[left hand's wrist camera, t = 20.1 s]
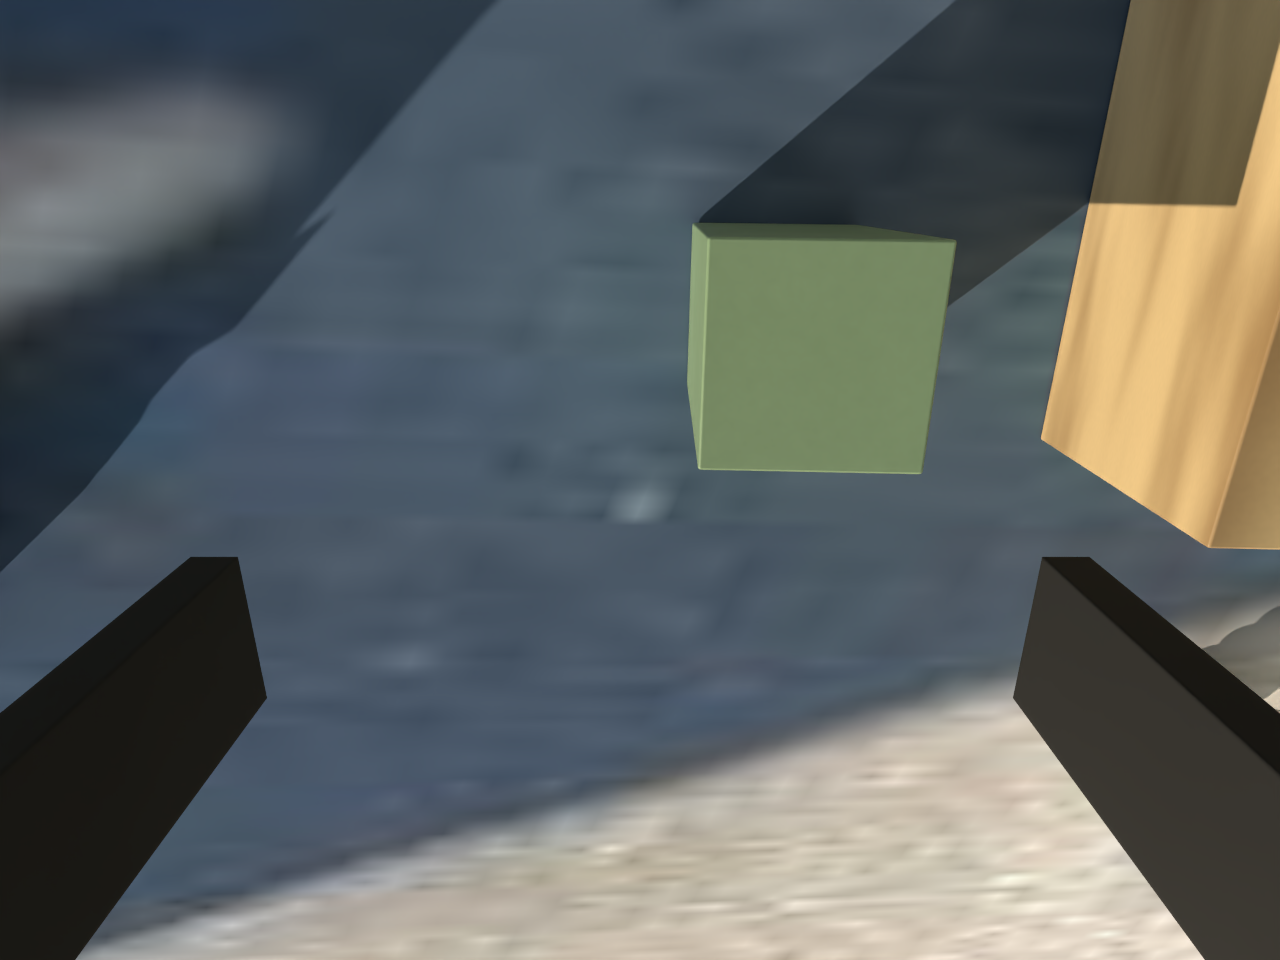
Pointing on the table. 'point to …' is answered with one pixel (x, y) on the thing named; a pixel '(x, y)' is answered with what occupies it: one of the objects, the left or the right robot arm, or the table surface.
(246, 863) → the table surface
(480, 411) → the table surface
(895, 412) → the cap block
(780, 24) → the table surface
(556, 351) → the table surface
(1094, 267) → the plank
